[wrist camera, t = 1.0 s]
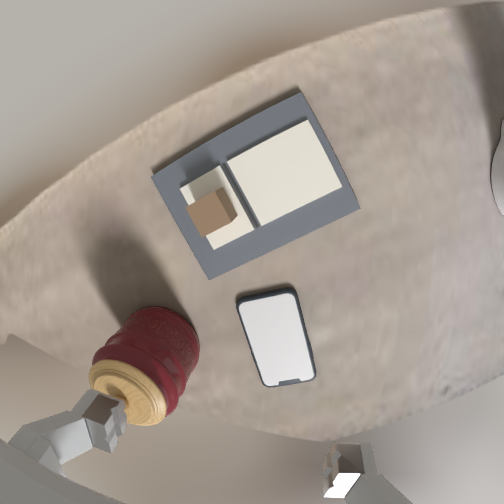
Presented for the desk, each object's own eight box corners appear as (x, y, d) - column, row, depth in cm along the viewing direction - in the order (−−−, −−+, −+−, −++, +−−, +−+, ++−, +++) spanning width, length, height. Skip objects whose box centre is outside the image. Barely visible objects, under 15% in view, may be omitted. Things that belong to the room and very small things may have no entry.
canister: (157, 379, 52) (115, 450, 36) (114, 320, 50) (54, 381, 33) (217, 358, 49) (185, 441, 32) (171, 291, 46) (114, 359, 30)
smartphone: (234, 296, 46) (264, 383, 50) (232, 301, 44) (263, 389, 48) (295, 283, 44) (318, 374, 48) (295, 288, 43) (318, 380, 46)
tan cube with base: (220, 165, 39) (211, 167, 35) (254, 228, 41) (249, 237, 37) (181, 188, 40) (167, 192, 36) (214, 248, 42) (205, 259, 38)
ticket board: (300, 93, 36) (301, 91, 34) (359, 207, 39) (361, 209, 38) (153, 176, 42) (148, 177, 40) (210, 277, 45) (207, 281, 43)
